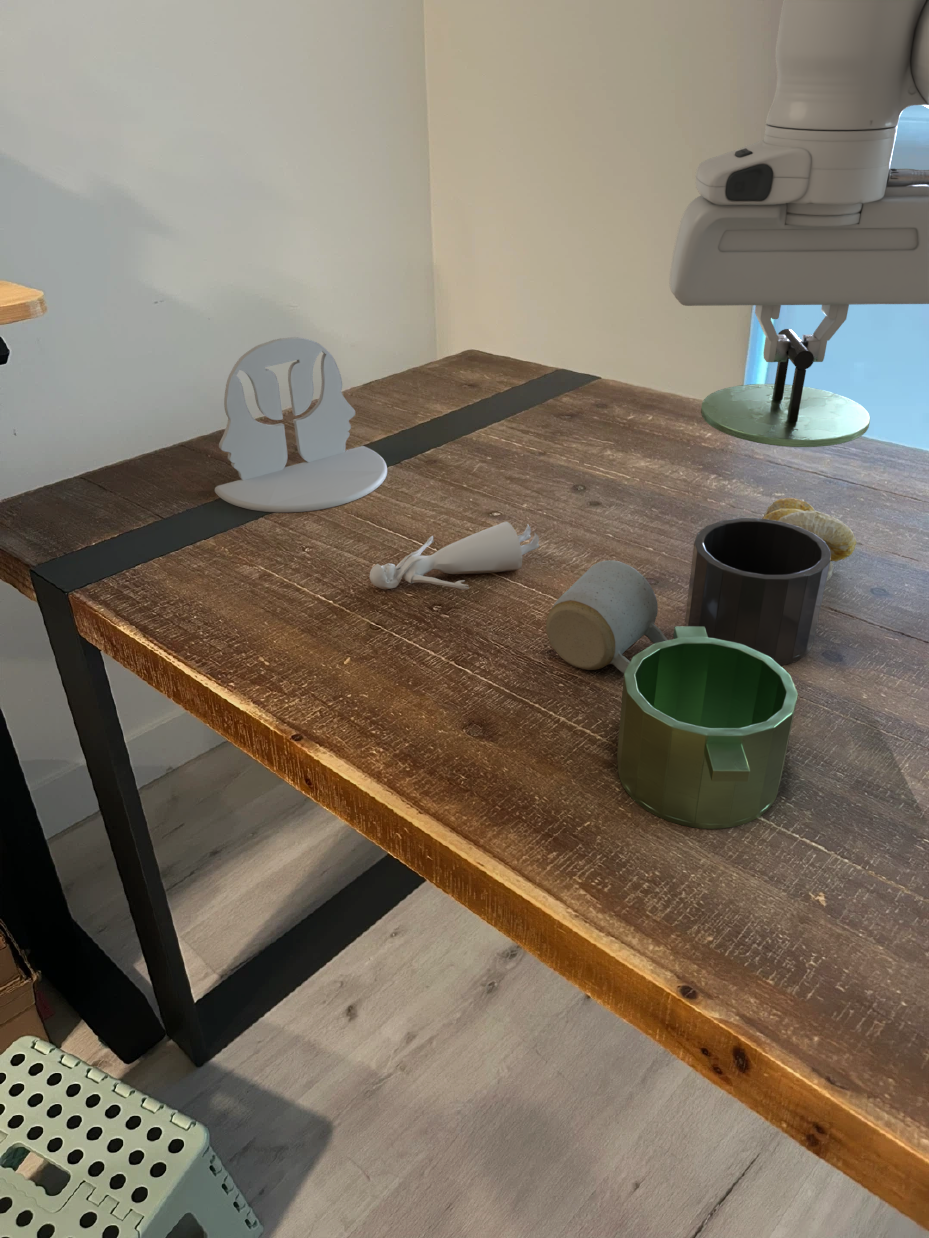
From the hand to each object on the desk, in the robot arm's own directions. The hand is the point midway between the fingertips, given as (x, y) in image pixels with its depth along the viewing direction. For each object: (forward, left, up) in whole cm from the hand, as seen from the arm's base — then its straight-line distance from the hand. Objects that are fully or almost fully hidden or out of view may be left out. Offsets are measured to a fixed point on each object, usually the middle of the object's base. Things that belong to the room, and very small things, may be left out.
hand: (792, 360), depth 77 cm
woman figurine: (+28, -11, -26) cm, 40 cm away
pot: (+8, +20, -26) cm, 33 cm away
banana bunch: (-9, -15, -26) cm, 31 cm away
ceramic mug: (+13, +4, -26) cm, 29 cm away
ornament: (+46, -33, -26) cm, 62 cm away
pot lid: (0, 0, -5) cm, 5 cm away
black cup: (0, 0, -26) cm, 26 cm away
